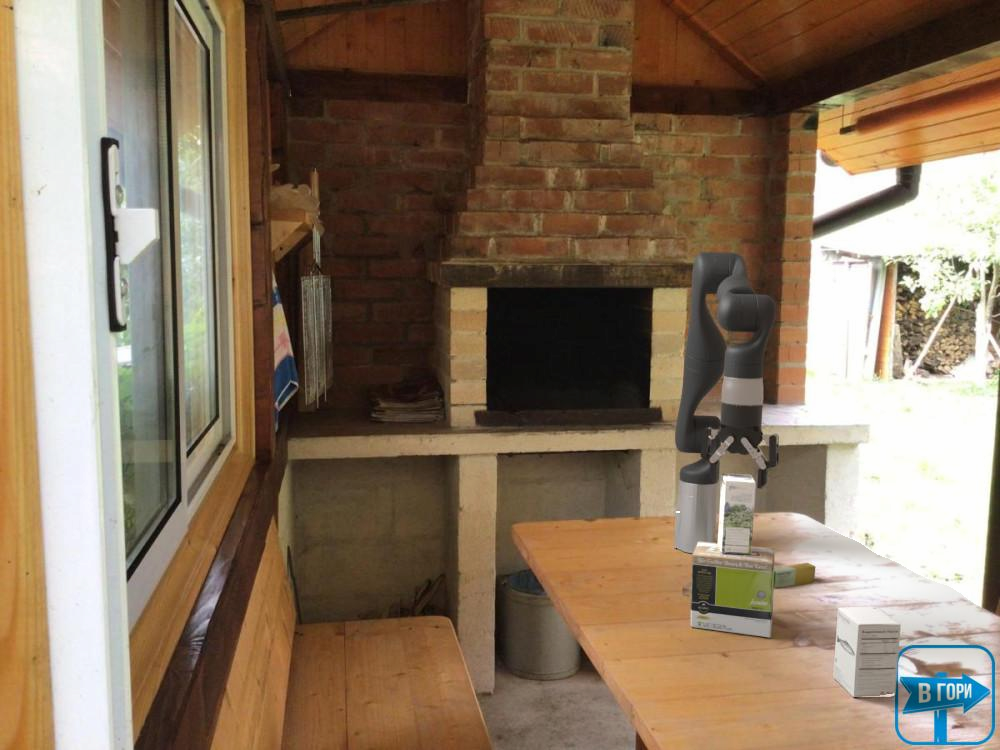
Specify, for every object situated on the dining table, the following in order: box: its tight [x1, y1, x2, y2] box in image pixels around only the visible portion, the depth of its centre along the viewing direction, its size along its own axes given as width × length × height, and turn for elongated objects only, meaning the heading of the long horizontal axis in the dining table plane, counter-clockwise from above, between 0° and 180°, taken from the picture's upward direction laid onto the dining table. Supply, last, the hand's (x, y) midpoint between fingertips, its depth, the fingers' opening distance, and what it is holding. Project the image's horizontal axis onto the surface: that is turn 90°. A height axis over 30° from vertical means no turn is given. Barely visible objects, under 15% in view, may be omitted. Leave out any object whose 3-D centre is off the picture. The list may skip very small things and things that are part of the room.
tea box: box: [690, 541, 775, 638], centre depth 170 cm, size 15×10×15 cm
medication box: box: [774, 562, 816, 589], centre depth 194 cm, size 12×3×4 cm, turn 114°
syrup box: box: [716, 473, 757, 555], centre depth 168 cm, size 6×6×14 cm
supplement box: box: [832, 606, 902, 698], centre depth 144 cm, size 7×7×13 cm
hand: (737, 484), depth 167 cm, fingers open, 8 cm apart
